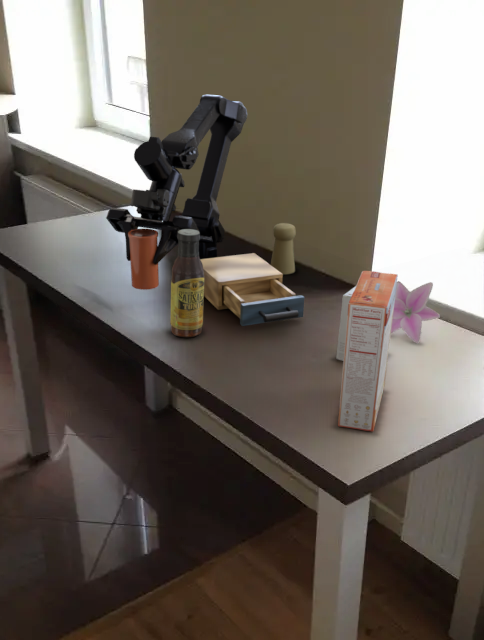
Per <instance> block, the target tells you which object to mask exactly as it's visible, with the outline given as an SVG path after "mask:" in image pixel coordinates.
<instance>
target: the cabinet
mask: <svg viewBox="0 0 484 640" xmlns="http://www.w3.org/2000/svg"><path fill="white" fill-rule="evenodd" d="M200 260H201V262H202V264H203V272H204V298H205V299H206V300H208V302H210V304H211V305H212V306H214V308H216V310H217V311H222V310H229V308H228V307H227V306H226V305H225V304H224V303H223V302H222V285H229V284H236V283H244V282H252V281H259V280H267V279H276V280H278V281H279V282H280V283H282V284H283V278H284V277H283V276H284V274H282V273H281V272H279V271H278V270H277V269H275V268H274V267H272V266H271V263H269V262H267V261H266V260H265V259H263V258H262V257H260V256H259V255H257V254H256V253H255V252H252V253H244V254H236V255H235V254H233V255H225V256H217V257H216V258H208V259H200Z"/></svg>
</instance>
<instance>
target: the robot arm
mask: <svg viewBox="0 0 484 640" xmlns="http://www.w3.org/2000/svg"><path fill="white" fill-rule="evenodd" d="M247 118H248V110H247V108H246V107H245V106H244V104H243V102H242V101H236V100H235V101H234V100H230V99H228V98H226V97H224V96H222V95H216V94H203V95H202V96H201V97H200V99H199V103H198V105H197V106H196V107H195V109H194V110H193V111H192V113H191V114H190V115H189V117H188V118H187V119H186V121H185V122H184V124H183V125H182V126H181V127H180V129H177V130H176V131H172V132H171V133H169V134H168V135H166V136H165V137H164V138H163V139H161V138H160V137H159V136H149V138H148V140H146V141H144V142H142V143H141V144H140V145H139V146H138V147H137V148H136V149H135V150H134V153H133V158H134V161H135V162H136V164H137V165H138V167H139V168H140V170H141V171H142V173H143V174H144V176H145V177H146V178H147V180H149V181H151V184H150V186H149V189H145V190H143V189H132V194H131V199H130V200H131V201H130V206H131V207H135V208H136V213H137V214H138V215H140V216H134V215H132V213H131V212H130V210H129V209H127V208H120V207H111V208H109V209H108V211H107V214H106V217H105V219H106V221H108V223H109V224H110V226H111V227H112V228H113V229H114V231H116V232H118V233H122V234H123V233H124V237H125V255H126V260H127V261H128V262H130V244H129V237H128V232H129V231H131V230H134V229H139V228H142V229H153V230H157V231H161V232H160V233H161V234H160V239H159V241H158V247H157V250H156V253H155V256H154V260H153V263H154V265H157V264H158V265H159V263H160V262H161V261H162V260H163V259H164V258H165V257H166V256H167V255H168V253H170V252H171V251H172V250H173V249H175V248H176V247H177V246H178V245H179V241H178V238H177V235H178V231H179V230H182V229H193V230H197V231H199V232H200V240H199V245H198V246H199V247H198V252H199V258H200V259H208V258H216V257H218V247H217V244H218V243H223V240H224V238H225V231H226V230H225V228H224V226H223V224H222V223H221V221H220V215H221V214H220V211H219V207H218V204H217V200H218V199H217V198H218V197H219V191H220V187H221V184H222V181H223V176H224V172H225V168H226V164H227V160H228V158H229V157H228V156H229V153H230V150H231V146H232V142H233V141H235V140H236V138H237V137H238V136H240V134H242V131H243V128H244V125H245V124H246V122H247ZM209 131H210V133H211V135H210V140H209V144H208V147H207V151H206V155H205V158H204V162H203V166H202V170H201V174H200V178H199V182H198V185H197V189H196V193H195V195H194V196H192V198H189V197H188V198H187V199H186V200H185V201H184V206H183V210H182V212H181V215H177V214H176V215H174V216H173V218H172V220H171V221H170V219H171V216H172V213H173V212H176V209H177V206H176V200H177V197H178V193H179V190H180V188H184V187H185V181H184V179H183V175H182V173H181V172H180V171H179V170H187V171H189V170H191V169H192V168H193V167H194V166H195V164H196V162H197V160H198V158H199V145H200V144H201V142H203V139H204V138H205V137H206V135H207V134H208V132H209Z"/></svg>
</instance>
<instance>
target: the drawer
mask: <svg viewBox="0 0 484 640" xmlns="http://www.w3.org/2000/svg"><path fill="white" fill-rule="evenodd" d="M222 302H223V303H224V304H225V305H226V306H227V307H228V310H230V311H231V312H232V313H233V314H234V315H235V316H236V317H237V318H238V319H239V325H241V327H246V326H252V325H259V324H265V323H272V322H279V321H285V320H292V319H297V318H303V317H304V312H305V311H304V309H305V296H304V295H302V294H300V295H296V293H295V292H294V291H292V290H291V289H290V288H288V287H287V286H286V285H284V284H283V282H282V283H280V282H279V281H278V280H276V279H267V280H259V281H252V282H244V283H236V284H229V285H222Z"/></svg>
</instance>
